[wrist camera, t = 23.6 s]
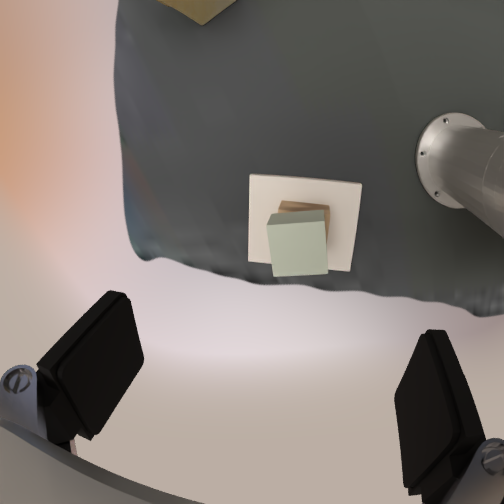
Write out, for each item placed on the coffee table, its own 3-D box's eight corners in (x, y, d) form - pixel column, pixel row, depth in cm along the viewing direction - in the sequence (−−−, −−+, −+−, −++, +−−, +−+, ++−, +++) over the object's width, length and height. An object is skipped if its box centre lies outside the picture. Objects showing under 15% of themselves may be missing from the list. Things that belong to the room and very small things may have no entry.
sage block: (323, 209, 35) (324, 221, 31) (327, 257, 37) (328, 273, 33) (271, 213, 36) (266, 225, 33) (278, 260, 38) (273, 276, 35)
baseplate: (361, 183, 37) (362, 184, 36) (349, 268, 42) (349, 271, 42) (251, 173, 40) (249, 174, 39) (249, 257, 45) (248, 261, 44)
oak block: (329, 205, 38) (330, 215, 35) (323, 249, 41) (324, 262, 37) (281, 200, 39) (277, 209, 36) (278, 243, 42) (274, 256, 38)
